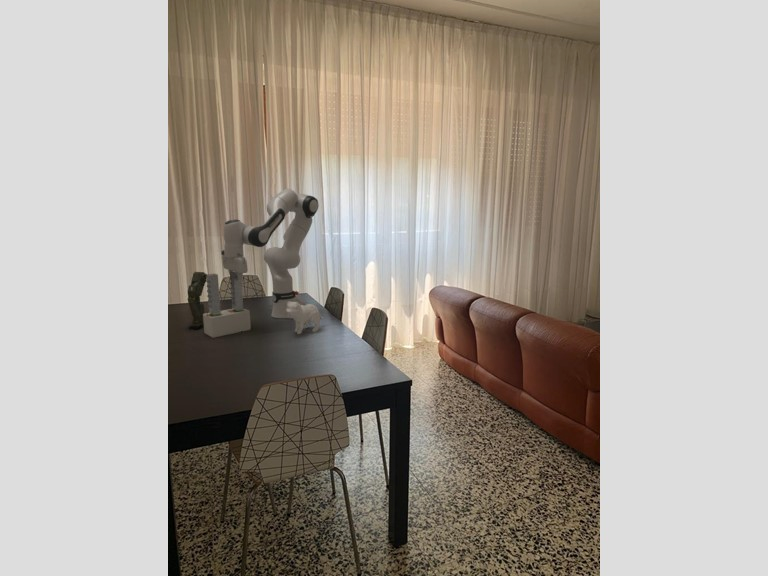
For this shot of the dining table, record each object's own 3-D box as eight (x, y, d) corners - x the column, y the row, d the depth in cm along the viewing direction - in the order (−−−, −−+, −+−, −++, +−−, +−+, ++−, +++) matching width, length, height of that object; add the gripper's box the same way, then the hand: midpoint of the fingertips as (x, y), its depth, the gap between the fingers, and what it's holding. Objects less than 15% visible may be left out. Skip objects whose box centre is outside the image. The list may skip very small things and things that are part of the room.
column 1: (217, 316, 223) (214, 273, 218) (220, 318, 220) (217, 274, 215) (208, 318, 220) (205, 274, 215) (212, 319, 217) (208, 275, 212)
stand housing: (241, 325, 236) (240, 306, 234) (250, 329, 229) (249, 309, 227) (204, 333, 223) (202, 312, 220) (212, 337, 215) (211, 316, 213)
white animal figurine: (316, 323, 241) (315, 293, 237) (330, 327, 234) (329, 296, 231) (279, 334, 222) (278, 302, 218) (293, 338, 215) (292, 305, 212)
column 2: (239, 312, 231) (237, 271, 226) (243, 314, 228) (241, 272, 223) (231, 314, 228) (228, 272, 223) (235, 315, 225) (232, 273, 220)
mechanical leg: (194, 330, 223) (198, 271, 224) (182, 329, 225) (186, 270, 226) (210, 329, 237) (214, 273, 238) (198, 328, 238) (202, 272, 239)
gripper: (250, 254, 216) (251, 281, 219) (231, 250, 231) (233, 276, 234) (237, 255, 212) (239, 283, 215) (219, 251, 226) (221, 277, 229)
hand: (236, 279), depth 224 cm, fingers open, 7 cm apart
